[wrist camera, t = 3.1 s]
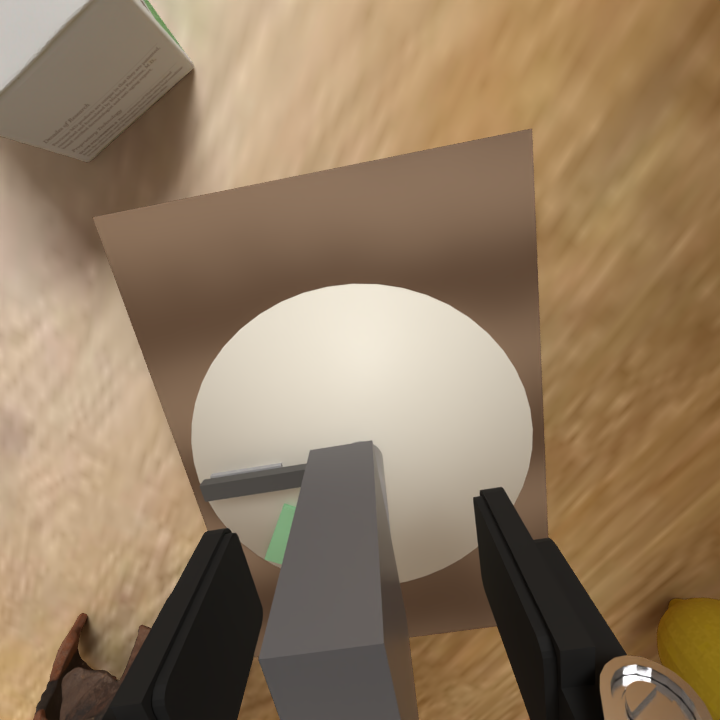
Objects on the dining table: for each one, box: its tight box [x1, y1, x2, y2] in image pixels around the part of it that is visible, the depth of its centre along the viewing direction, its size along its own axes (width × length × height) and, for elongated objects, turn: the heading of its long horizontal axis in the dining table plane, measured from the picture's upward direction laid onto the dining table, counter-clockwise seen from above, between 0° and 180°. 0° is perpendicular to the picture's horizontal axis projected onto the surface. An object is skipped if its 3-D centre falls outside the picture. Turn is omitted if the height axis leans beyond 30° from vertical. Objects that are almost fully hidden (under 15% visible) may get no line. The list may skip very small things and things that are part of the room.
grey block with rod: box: [199, 440, 419, 720], centre depth 10 cm, size 6×7×9 cm
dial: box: [191, 284, 533, 583], centre depth 14 cm, size 13×13×1 cm
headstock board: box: [93, 129, 548, 657], centre depth 16 cm, size 20×14×3 cm
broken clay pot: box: [33, 613, 151, 720], centre depth 20 cm, size 12×10×8 cm
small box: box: [0, 0, 194, 162], centre depth 11 cm, size 6×6×5 cm
